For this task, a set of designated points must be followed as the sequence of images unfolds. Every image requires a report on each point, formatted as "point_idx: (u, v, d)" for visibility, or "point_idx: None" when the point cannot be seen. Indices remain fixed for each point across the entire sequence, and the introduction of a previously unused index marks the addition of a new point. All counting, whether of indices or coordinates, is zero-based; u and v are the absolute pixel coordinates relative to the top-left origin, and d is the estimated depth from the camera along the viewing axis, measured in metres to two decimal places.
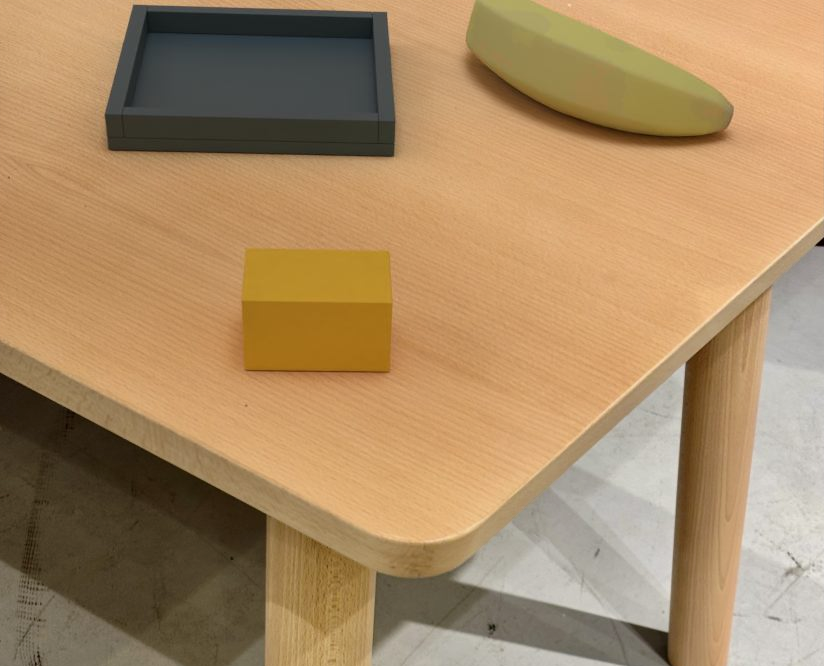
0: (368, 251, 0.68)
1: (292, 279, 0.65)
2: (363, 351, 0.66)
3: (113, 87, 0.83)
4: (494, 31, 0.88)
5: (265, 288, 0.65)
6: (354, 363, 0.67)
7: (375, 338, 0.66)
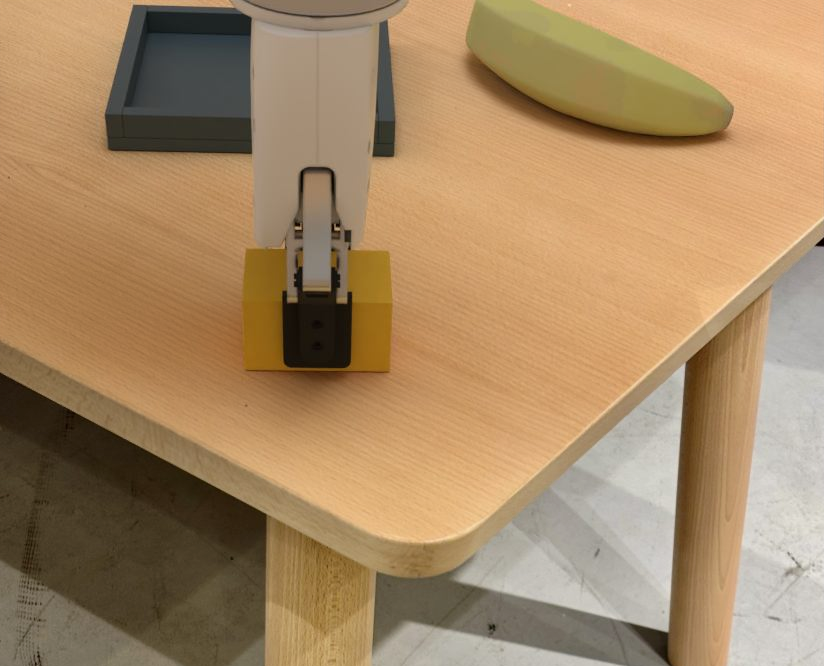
0: (368, 251, 0.68)
1: None
2: (363, 351, 0.66)
3: (113, 87, 0.83)
4: (493, 31, 0.88)
5: (265, 288, 0.65)
6: (354, 363, 0.67)
7: (375, 338, 0.66)
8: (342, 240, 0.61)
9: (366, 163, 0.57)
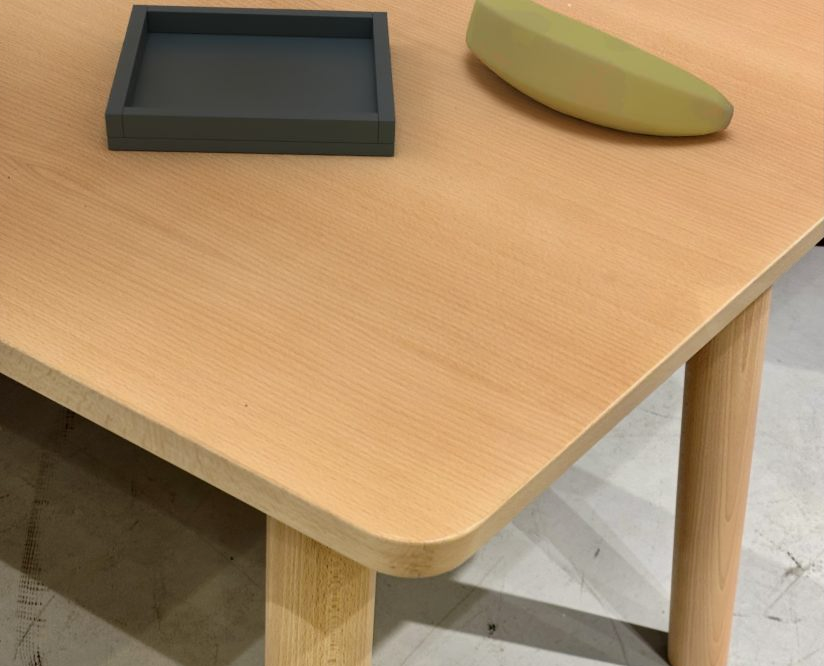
0: None
1: None
2: None
3: (113, 87, 0.83)
4: (493, 31, 0.88)
5: None
6: None
7: None
8: None
9: None
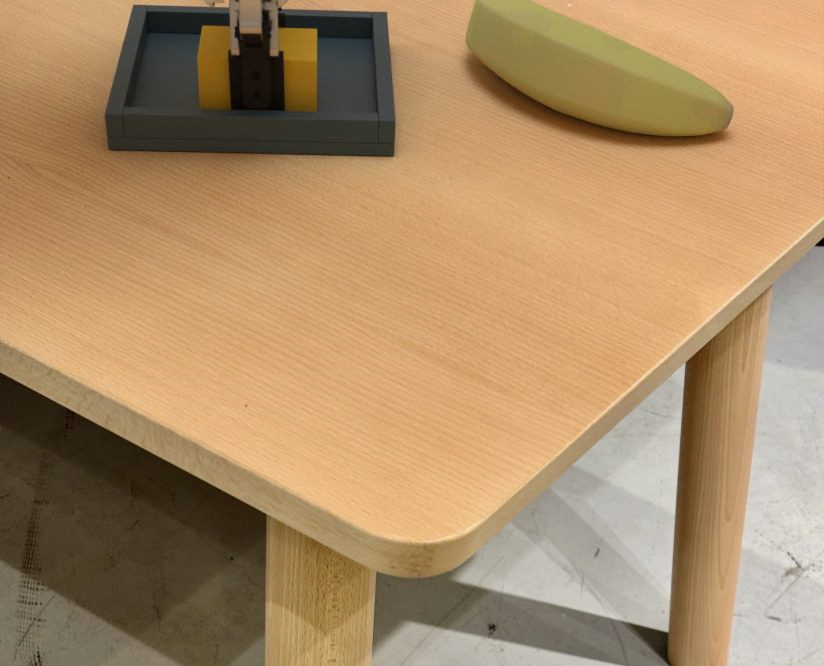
0: (300, 28, 0.85)
1: None
2: (295, 104, 0.83)
3: (113, 87, 0.83)
4: (493, 31, 0.88)
5: (216, 50, 0.82)
6: None
7: (304, 92, 0.83)
8: (272, 2, 0.78)
9: None
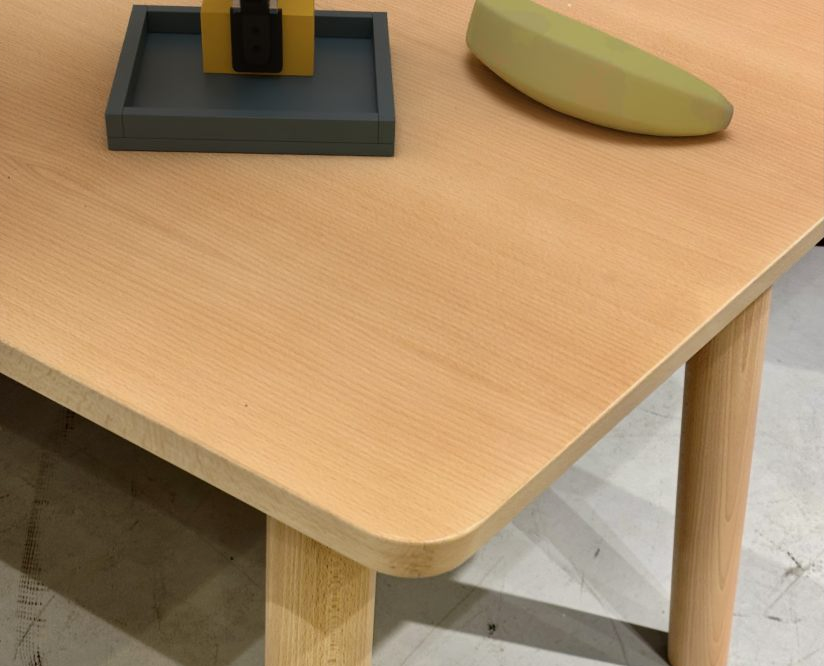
0: None
1: None
2: (293, 57, 0.88)
3: (113, 87, 0.83)
4: (493, 31, 0.88)
5: (219, 6, 0.87)
6: (286, 68, 0.88)
7: (301, 46, 0.88)
8: None
9: None
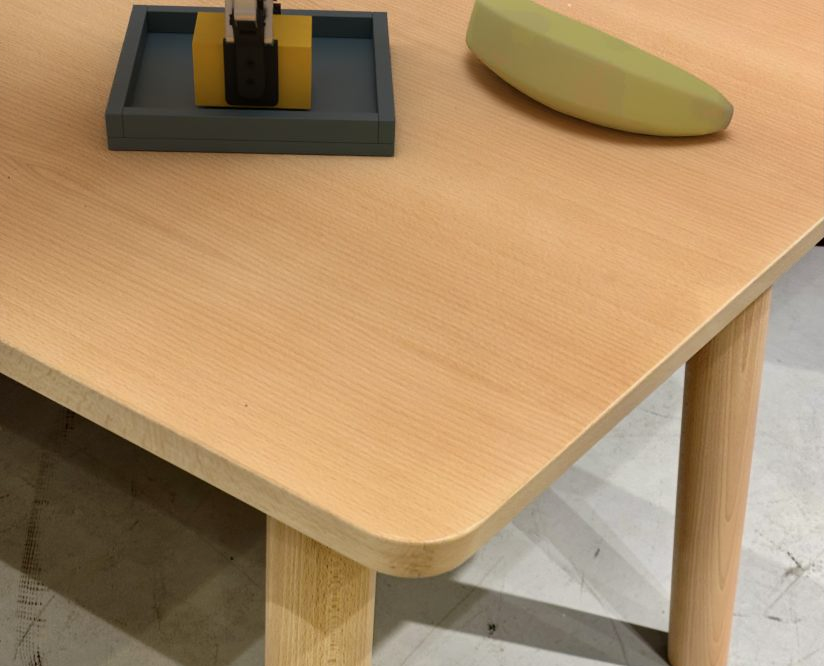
0: (295, 15, 0.85)
1: None
2: (289, 90, 0.84)
3: (113, 87, 0.83)
4: (493, 31, 0.88)
5: (211, 36, 0.82)
6: (282, 101, 0.84)
7: (298, 78, 0.83)
8: None
9: None
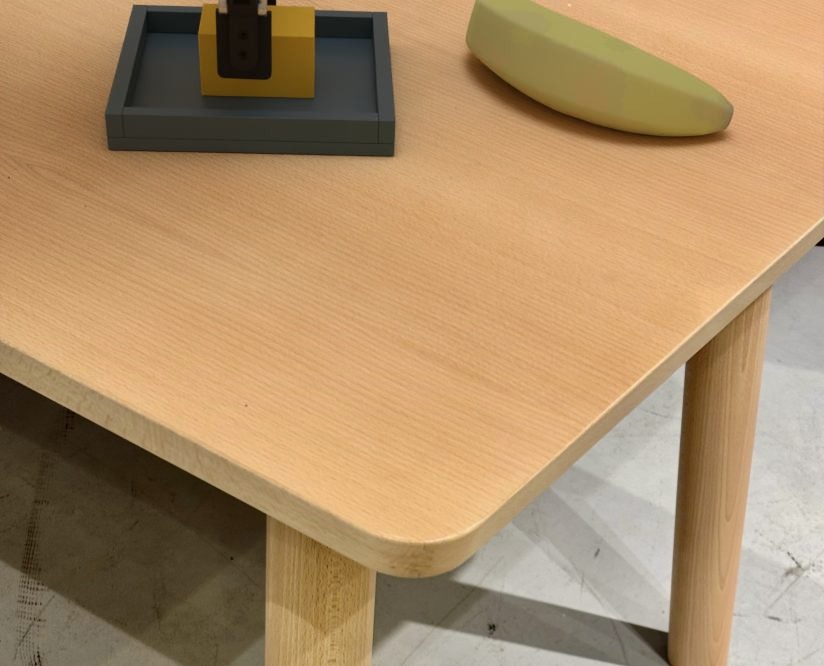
0: (298, 6, 0.87)
1: None
2: (293, 79, 0.86)
3: (113, 87, 0.83)
4: (493, 31, 0.88)
5: None
6: (286, 90, 0.86)
7: (302, 68, 0.85)
8: None
9: None
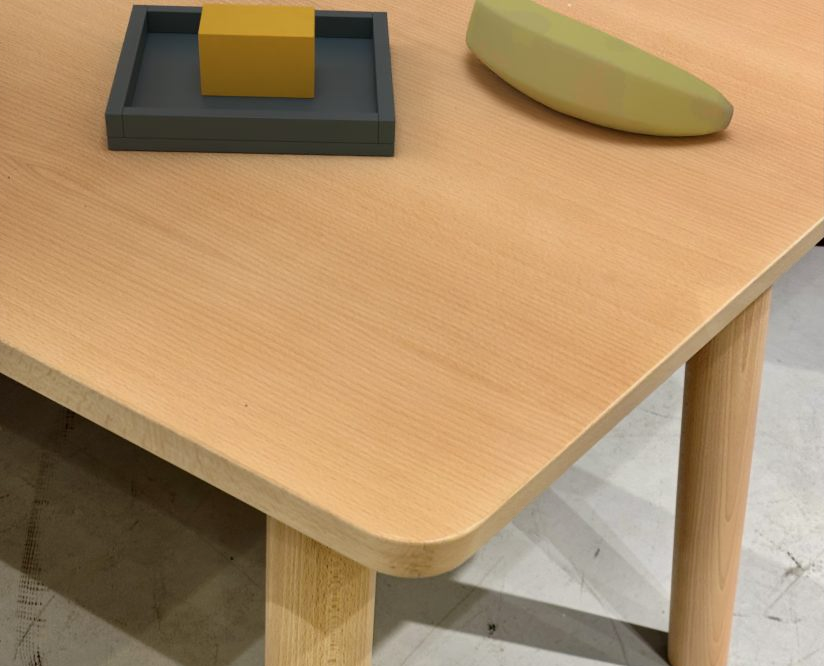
0: (298, 6, 0.87)
1: (237, 22, 0.85)
2: (293, 79, 0.86)
3: (113, 87, 0.83)
4: (493, 31, 0.88)
5: (217, 27, 0.84)
6: (286, 90, 0.86)
7: (302, 68, 0.85)
8: None
9: None
